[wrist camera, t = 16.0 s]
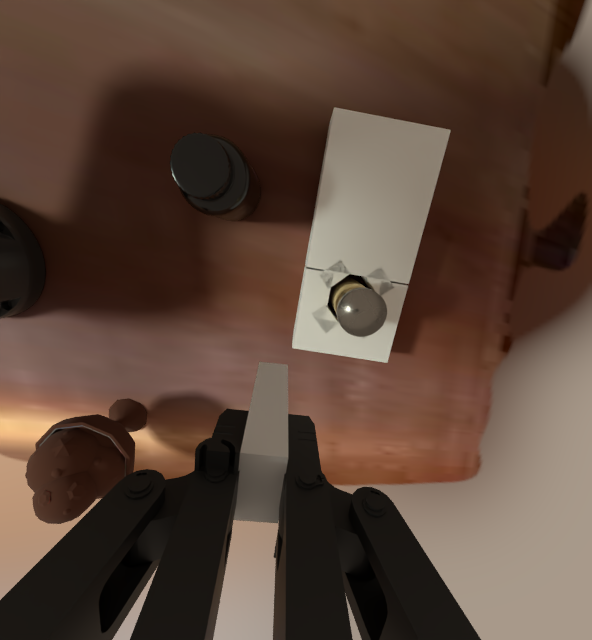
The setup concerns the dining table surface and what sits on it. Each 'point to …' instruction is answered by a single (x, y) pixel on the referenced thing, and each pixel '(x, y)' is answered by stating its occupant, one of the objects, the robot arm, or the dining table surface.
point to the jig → (367, 224)
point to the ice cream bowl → (82, 461)
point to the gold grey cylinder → (357, 307)
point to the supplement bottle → (215, 176)
